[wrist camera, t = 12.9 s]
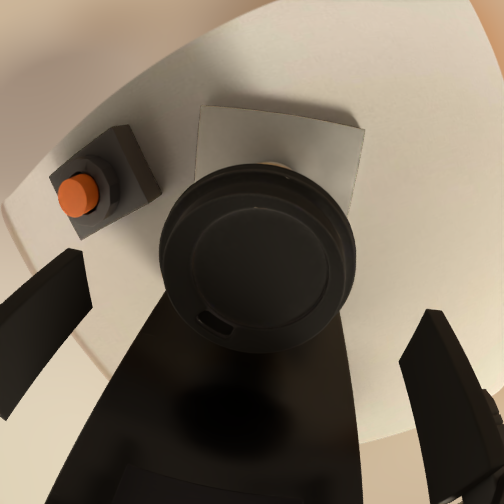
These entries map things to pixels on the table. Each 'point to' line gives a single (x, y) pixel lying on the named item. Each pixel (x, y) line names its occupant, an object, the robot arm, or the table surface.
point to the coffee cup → (257, 257)
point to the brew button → (78, 195)
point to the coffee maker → (230, 373)
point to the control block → (110, 178)
